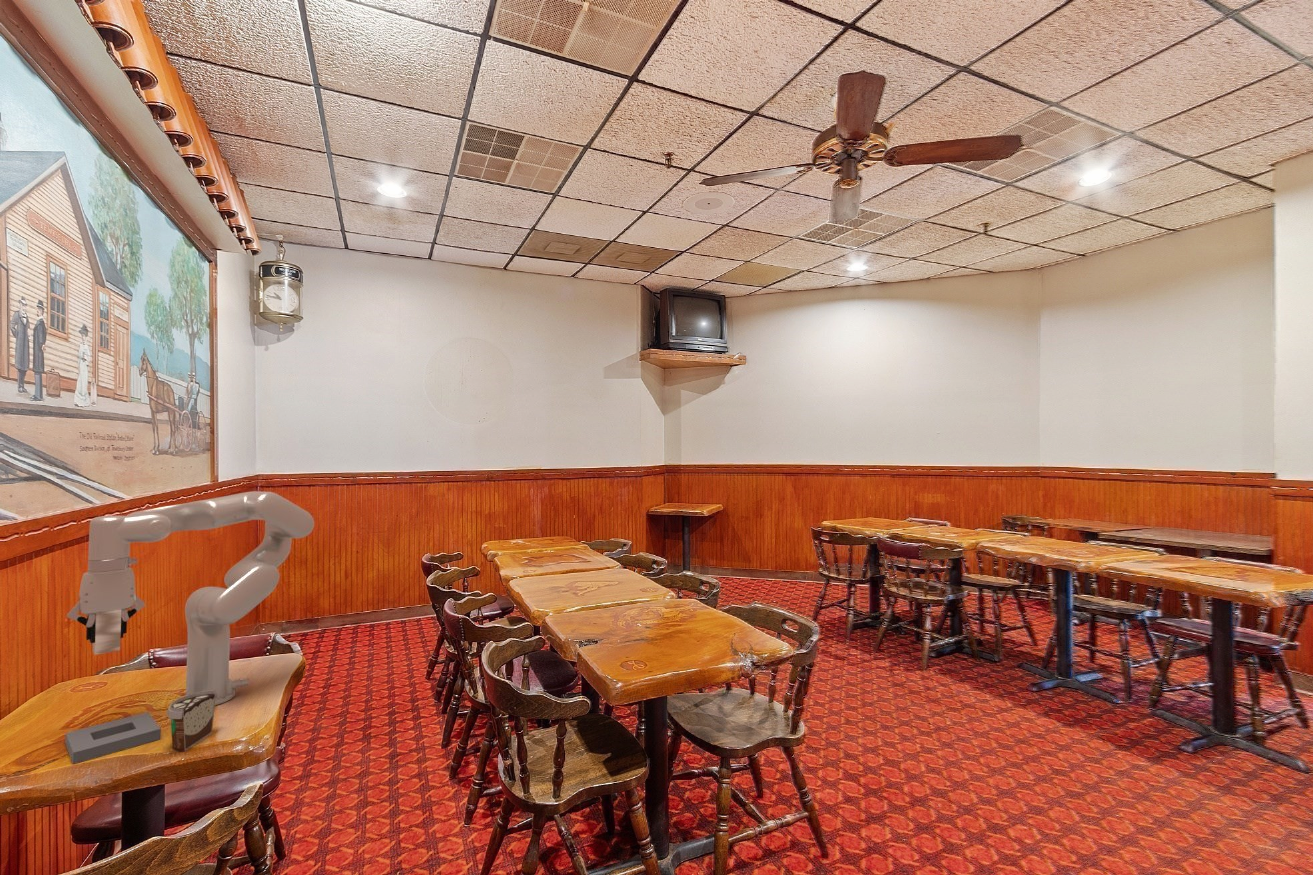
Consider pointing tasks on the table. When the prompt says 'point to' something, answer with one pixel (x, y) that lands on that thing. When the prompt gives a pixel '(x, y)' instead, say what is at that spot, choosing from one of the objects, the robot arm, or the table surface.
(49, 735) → the table surface
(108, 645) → the off-white block
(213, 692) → the food container
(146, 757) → the table surface
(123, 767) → the table surface
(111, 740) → the charcoal pocket board
